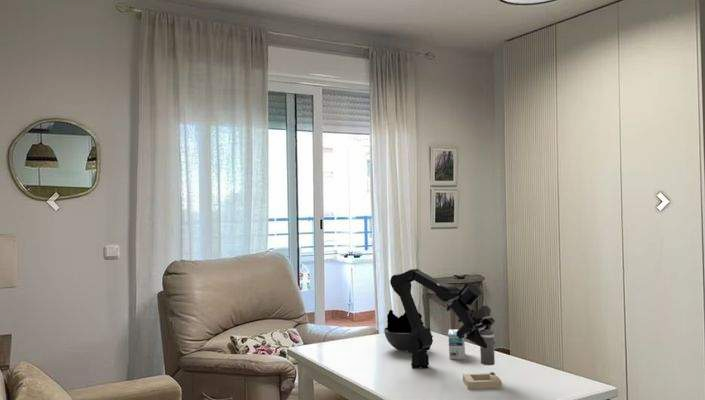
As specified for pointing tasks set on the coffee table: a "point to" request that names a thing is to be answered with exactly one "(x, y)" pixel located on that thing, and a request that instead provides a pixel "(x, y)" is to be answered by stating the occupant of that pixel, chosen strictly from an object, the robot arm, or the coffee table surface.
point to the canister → (488, 352)
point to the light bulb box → (456, 346)
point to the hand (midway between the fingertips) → (490, 346)
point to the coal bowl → (399, 331)
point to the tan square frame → (482, 381)
